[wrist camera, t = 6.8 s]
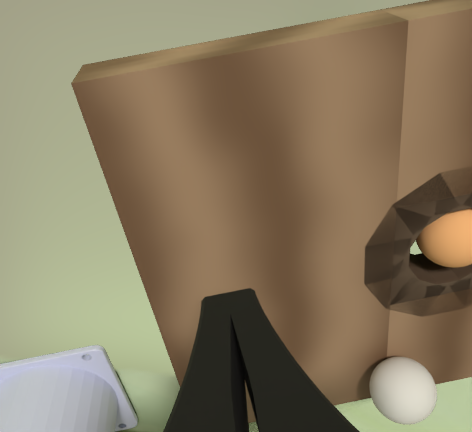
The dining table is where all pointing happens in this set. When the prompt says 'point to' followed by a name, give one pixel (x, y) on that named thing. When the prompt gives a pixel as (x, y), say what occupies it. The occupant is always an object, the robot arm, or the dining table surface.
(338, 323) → the board
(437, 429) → the dining table surface
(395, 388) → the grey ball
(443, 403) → the dining table surface
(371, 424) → the dining table surface
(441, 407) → the dining table surface
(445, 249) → the orange ball
